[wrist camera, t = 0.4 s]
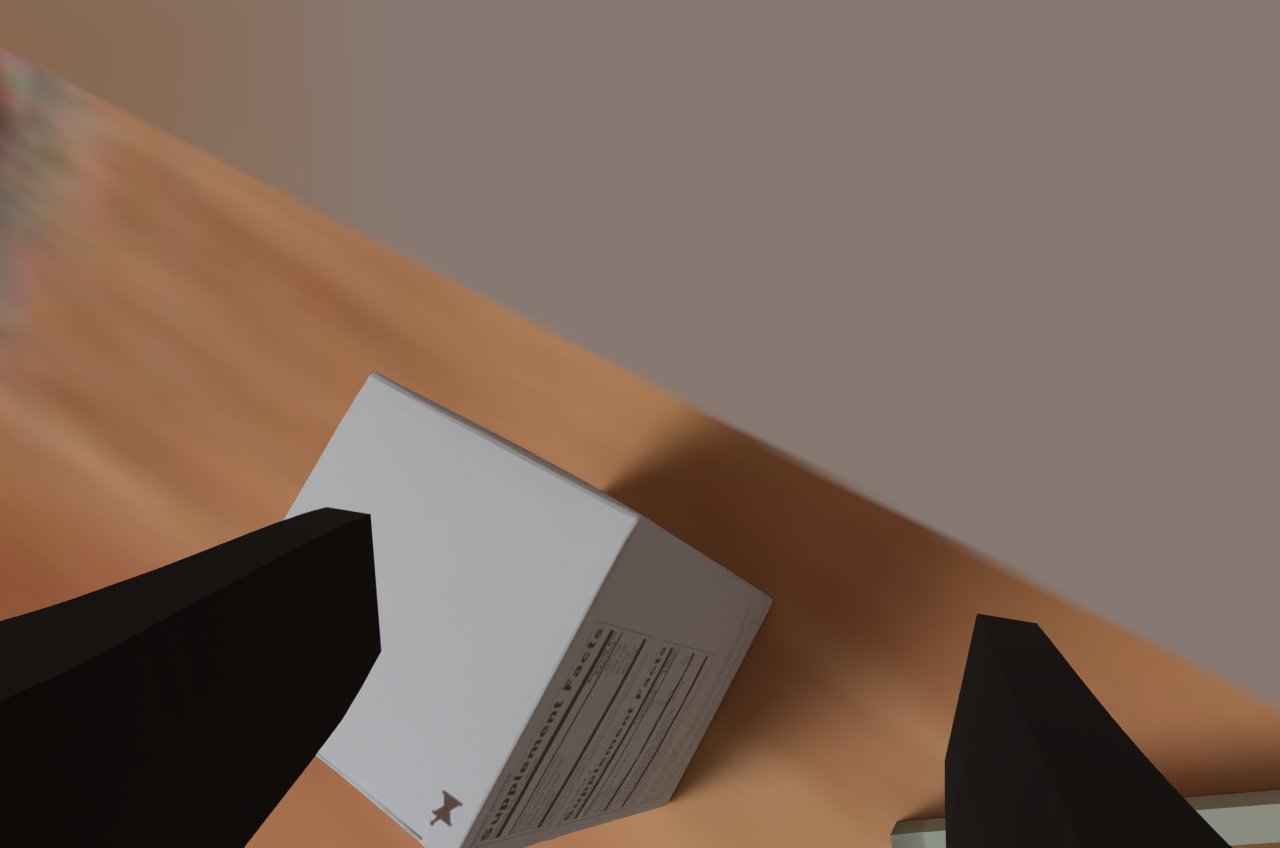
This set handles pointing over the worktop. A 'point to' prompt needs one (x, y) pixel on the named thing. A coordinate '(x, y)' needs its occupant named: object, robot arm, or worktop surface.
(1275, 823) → the crate
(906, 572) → the worktop surface
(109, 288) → the worktop surface
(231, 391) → the worktop surface
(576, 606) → the supplement box
